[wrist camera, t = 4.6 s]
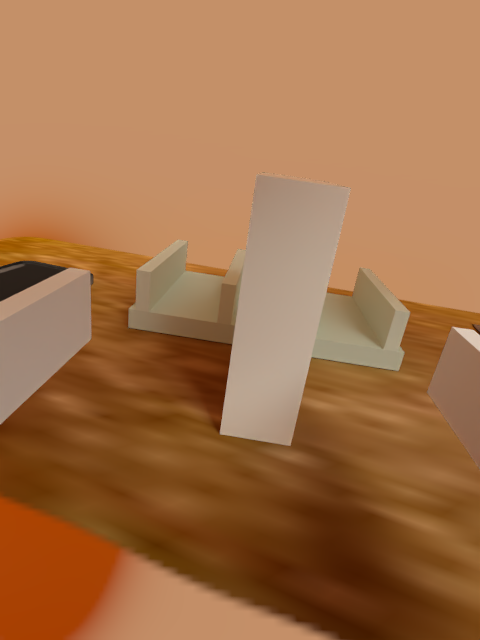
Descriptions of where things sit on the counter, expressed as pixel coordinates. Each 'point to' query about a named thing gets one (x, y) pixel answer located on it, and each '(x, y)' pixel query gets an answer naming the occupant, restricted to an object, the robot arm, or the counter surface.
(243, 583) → the counter surface
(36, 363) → the robot arm
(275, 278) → the beige rectangular block
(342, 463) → the counter surface
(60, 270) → the phone
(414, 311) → the counter surface
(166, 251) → the slotted rack base
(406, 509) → the counter surface
